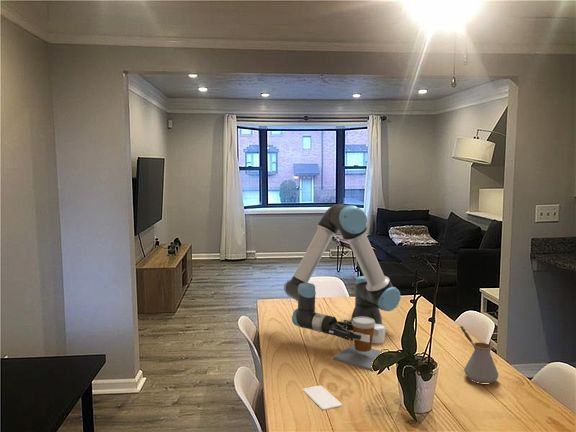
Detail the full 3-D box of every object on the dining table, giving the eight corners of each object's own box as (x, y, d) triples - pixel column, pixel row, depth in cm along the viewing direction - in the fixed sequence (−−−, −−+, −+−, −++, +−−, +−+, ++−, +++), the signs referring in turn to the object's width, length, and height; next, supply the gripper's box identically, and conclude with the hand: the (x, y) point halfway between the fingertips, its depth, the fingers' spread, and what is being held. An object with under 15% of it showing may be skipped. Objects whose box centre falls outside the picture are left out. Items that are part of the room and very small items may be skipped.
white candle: (366, 341, 202) (367, 326, 201) (375, 337, 207) (375, 322, 206) (380, 345, 197) (380, 329, 197) (388, 341, 202) (389, 325, 202)
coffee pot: (505, 386, 161) (507, 345, 159) (474, 388, 159) (476, 346, 157) (472, 361, 182) (473, 324, 180) (445, 362, 180) (446, 325, 178)
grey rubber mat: (353, 345, 197) (354, 343, 197) (393, 355, 186) (393, 353, 186) (332, 359, 182) (332, 357, 182) (373, 371, 172) (373, 369, 172)
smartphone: (320, 385, 160) (342, 404, 146) (320, 387, 160) (342, 406, 146) (302, 388, 157) (322, 409, 143) (302, 390, 157) (322, 411, 144)
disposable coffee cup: (367, 343, 190) (368, 315, 189) (379, 352, 181) (380, 322, 180) (346, 345, 187) (347, 317, 186) (357, 354, 178) (358, 324, 177)
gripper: (337, 326, 203) (384, 337, 189) (311, 339, 186) (361, 353, 172) (337, 309, 202) (385, 320, 189) (311, 321, 185) (362, 333, 172)
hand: (374, 335), depth 181 cm, fingers closed on disposable coffee cup, 8 cm apart
